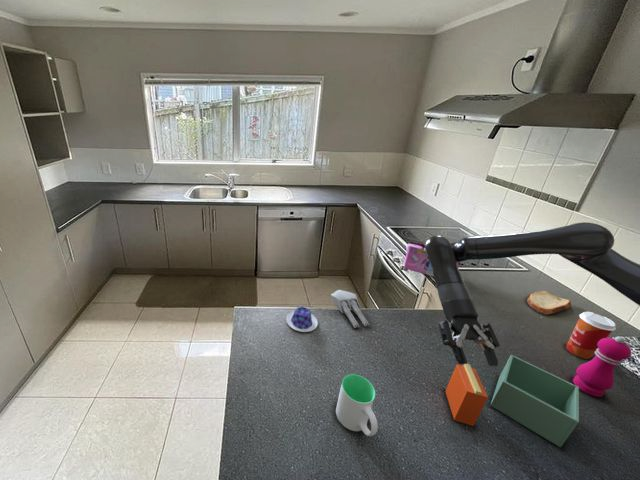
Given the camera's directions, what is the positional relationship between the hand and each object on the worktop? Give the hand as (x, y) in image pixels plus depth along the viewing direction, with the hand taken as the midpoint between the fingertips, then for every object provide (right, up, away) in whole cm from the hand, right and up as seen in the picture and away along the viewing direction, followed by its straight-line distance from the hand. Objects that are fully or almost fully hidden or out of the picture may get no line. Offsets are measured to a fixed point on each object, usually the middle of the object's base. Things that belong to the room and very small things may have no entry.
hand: (478, 364), depth 71 cm
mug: (-31, -16, +2) cm, 35 cm away
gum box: (+34, +10, +77) cm, 84 cm away
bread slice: (+75, -1, +54) cm, 92 cm away
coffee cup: (+58, -10, +29) cm, 66 cm away
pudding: (-39, -2, +37) cm, 54 cm away
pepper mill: (+46, -15, +15) cm, 50 cm away
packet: (0, -16, +7) cm, 17 cm away
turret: (-19, 0, +44) cm, 48 cm away
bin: (+20, -16, +8) cm, 27 cm away
